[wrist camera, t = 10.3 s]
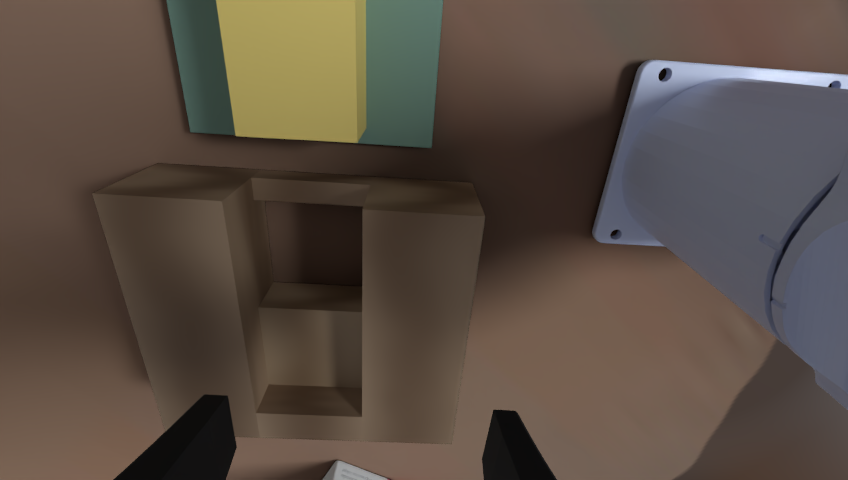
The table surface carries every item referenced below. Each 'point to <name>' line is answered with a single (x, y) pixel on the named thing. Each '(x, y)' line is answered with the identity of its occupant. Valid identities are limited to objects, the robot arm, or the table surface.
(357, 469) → the ink cartridge box
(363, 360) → the pocket board
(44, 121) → the table surface
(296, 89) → the slab
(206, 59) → the mat
